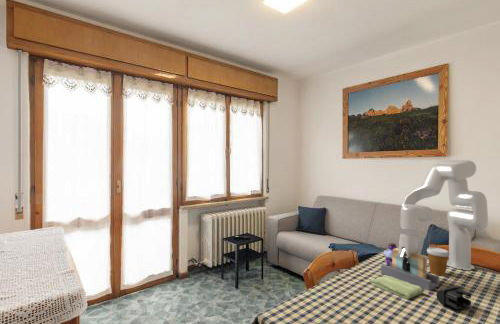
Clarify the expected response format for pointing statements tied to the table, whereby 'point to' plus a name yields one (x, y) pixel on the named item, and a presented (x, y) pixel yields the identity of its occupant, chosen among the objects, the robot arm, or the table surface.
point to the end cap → (454, 298)
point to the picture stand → (411, 277)
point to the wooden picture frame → (411, 263)
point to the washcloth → (397, 287)
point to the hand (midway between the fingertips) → (408, 269)
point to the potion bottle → (389, 253)
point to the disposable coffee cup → (437, 260)
